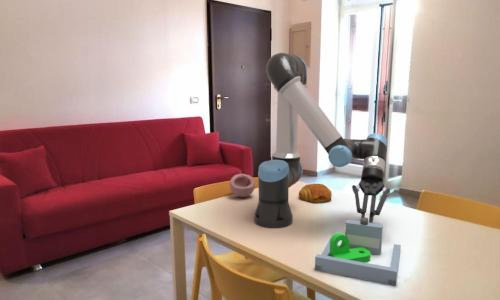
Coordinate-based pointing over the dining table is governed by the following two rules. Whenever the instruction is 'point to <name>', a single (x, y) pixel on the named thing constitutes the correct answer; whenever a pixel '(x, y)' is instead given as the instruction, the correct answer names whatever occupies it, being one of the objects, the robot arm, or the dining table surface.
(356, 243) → the slide jaw
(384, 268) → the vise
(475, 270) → the dining table surface
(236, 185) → the pink round pot
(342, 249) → the mechanical part
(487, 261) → the dining table surface
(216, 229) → the dining table surface
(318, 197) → the croissant
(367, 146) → the robot arm
